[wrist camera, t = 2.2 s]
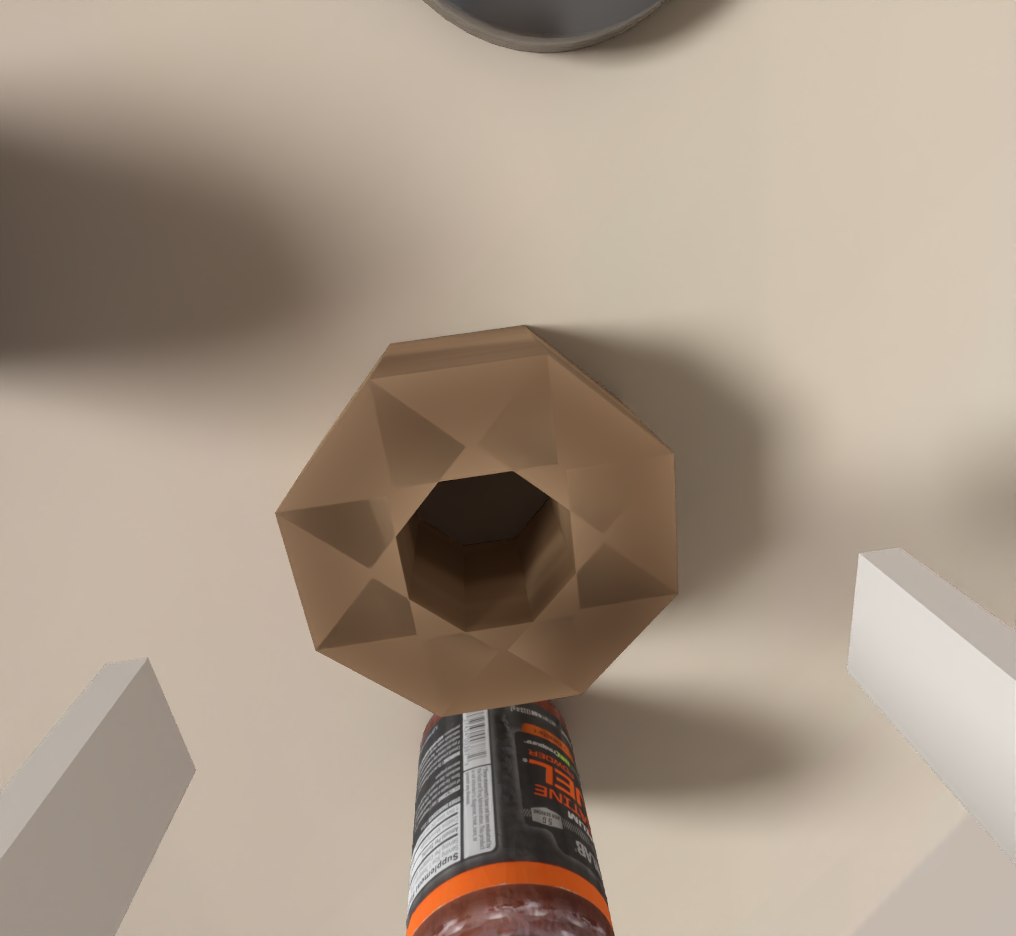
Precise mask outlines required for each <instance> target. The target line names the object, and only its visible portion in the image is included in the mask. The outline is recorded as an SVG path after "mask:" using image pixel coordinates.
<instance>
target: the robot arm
mask: <svg viewBox="0 0 1016 936" xmlns="http://www.w3.org/2000/svg"><path fill="white" fill-rule="evenodd" d="M847 673H848V674H849V675H850V676H851V677H852V678H853V680H854V681H855V682H856V683H857V684H858V685H859V687H860V688H861V689H862V690H863V691H864V692H865V693H866V695H867V696H868V697H869V698H870V699H871V700H872V702H873V703H874V704H875V705H876V706H877V707H878V708H879V710H880V711H881V712H882V713H883V714H884V715H885V716H886V718H887V719H888V720H889V721H890V722H891V723H892V725H893V726H894V727H895V728H896V729H897V730H898V731H899V733H900V734H901V735H902V736H903V737H904V738H905V739H906V741H907V742H908V743H909V744H910V745H911V746H912V748H913V749H914V750H915V751H916V752H917V753H918V754H919V756H920V757H921V758H922V759H923V760H924V761H925V763H926V764H927V765H928V766H929V767H930V768H931V769H932V771H933V772H934V773H935V774H936V775H937V776H938V777H939V779H940V780H941V781H942V782H943V783H944V784H945V786H946V787H947V788H948V789H949V790H950V791H951V792H952V794H953V795H954V796H955V797H956V798H957V799H958V800H959V802H960V803H961V804H962V805H963V806H964V807H965V809H966V810H967V811H968V812H969V813H970V814H971V815H972V817H973V818H974V819H975V820H976V821H977V822H978V823H979V825H980V826H981V827H982V828H983V829H984V830H985V832H986V833H987V834H988V835H989V836H990V837H991V838H992V840H993V841H994V842H995V843H996V844H997V845H998V847H999V848H1000V849H1001V850H1002V851H1003V852H1004V853H1005V855H1006V856H1007V857H1008V858H1009V859H1010V860H1011V862H1012V863H1013V864H1014V865H1015V866H1016V631H1014V630H1013V629H1011V628H1010V627H1009V626H1007V625H1006V624H1005V623H1003V622H1002V621H1000V620H999V619H998V618H996V617H995V616H994V615H992V614H991V613H989V612H988V611H987V610H985V609H984V608H983V607H981V606H980V605H978V604H977V603H976V602H974V601H973V600H972V599H970V598H969V597H967V596H966V595H965V594H963V593H962V592H961V591H959V590H958V589H956V588H955V587H954V586H952V585H951V584H950V583H948V582H947V581H945V580H944V579H943V578H941V577H940V576H939V575H937V574H936V573H934V572H933V571H932V570H930V569H929V568H928V567H926V566H925V565H923V564H922V563H921V562H919V561H918V560H917V559H915V558H914V557H912V556H911V555H910V554H908V553H907V552H906V551H904V550H903V549H901V548H900V547H897V548H891V549H884V550H877V551H870V552H863V553H859V559H858V568H857V578H856V588H855V597H854V607H853V616H852V626H851V635H850V645H849V655H848V664H847ZM195 771H196V769H195V766H194V764H193V762H192V759H191V757H190V755H189V752H188V750H187V748H186V745H185V743H184V741H183V738H182V736H181V734H180V731H179V729H178V727H177V724H176V722H175V719H174V717H173V715H172V712H171V710H170V708H169V705H168V703H167V701H166V698H165V696H164V694H163V691H162V689H161V687H160V684H159V682H158V680H157V677H156V675H155V673H154V670H153V668H152V666H151V663H150V661H149V659H148V658H142V659H136V660H129V661H122V662H115V663H108V664H105V665H104V666H103V668H102V669H101V670H100V671H99V673H98V674H97V675H96V676H95V677H94V679H93V680H92V681H91V682H90V684H89V685H88V686H87V687H86V688H85V690H84V691H83V692H82V693H81V694H80V696H79V697H78V698H77V699H76V701H75V702H74V703H73V704H72V705H71V707H70V708H69V709H68V710H67V712H66V713H65V714H64V715H63V716H62V718H61V719H60V720H59V721H58V723H57V724H56V725H55V726H54V727H53V729H52V730H51V731H50V732H49V734H48V735H47V736H46V737H45V738H44V740H43V741H42V742H41V743H40V745H39V746H38V747H37V748H36V749H35V751H34V752H33V753H32V754H31V756H30V757H29V758H28V759H27V760H26V762H25V763H24V764H23V765H22V766H21V768H20V769H19V770H18V771H17V773H16V774H15V775H14V776H13V777H12V779H11V780H10V781H9V782H8V784H7V785H6V786H5V787H4V788H3V790H2V791H1V792H0V936H115V934H116V932H117V930H118V928H119V926H120V924H121V922H122V920H123V918H124V916H125V914H126V912H127V909H128V907H129V905H130V903H131V901H132V899H133V897H134V895H135V893H136V891H137V889H138V887H139V885H140V883H141V881H142V879H143V877H144V875H145V873H146V871H147V869H148V867H149V865H150V863H151V861H152V859H153V857H154V855H155V853H156V850H157V848H158V846H159V844H160V842H161V840H162V838H163V836H164V834H165V832H166V830H167V828H168V826H169V824H170V822H171V820H172V818H173V816H174V814H175V812H176V810H177V808H178V806H179V804H180V802H181V800H182V798H183V796H184V794H185V791H186V789H187V787H188V785H189V783H190V781H191V779H192V777H193V775H194V773H195Z"/></svg>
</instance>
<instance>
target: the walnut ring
mask: <svg viewBox="0 0 1016 936" xmlns="http://www.w3.org/2000/svg"><path fill="white" fill-rule="evenodd" d="M508 471H514V472H516V473H517V474H518V475H520V476H521V477H523V478H524V479H526V480H527V481H528V482H530V483H531V484H533V485H534V486H536V487H537V488H538V489H540V490H541V491H543V492H544V493H546V494H547V495H548V496H549V499H548V500H547V501H546V502H545V504H544V505H543V506H542V507H541V508H540V510H539V511H538V512H537V513H536V514H535V516H534V517H533V518H532V519H531V520H530V522H529V523H528V524H527V525H526V526H525V527H524V529H523V530H522V531H521V532H520V533H519V535H518V536H517V537H516V538H512V539H505V540H499V541H492V542H486V543H479V544H472V545H466V546H462V545H461V544H459V543H458V542H456V541H455V540H453V539H451V538H450V537H448V536H447V535H445V534H444V533H442V532H440V531H439V530H437V529H436V528H434V527H433V526H431V525H429V524H428V523H426V522H425V521H423V520H422V519H420V518H419V515H418V510H417V509H418V507H419V506H420V505H421V504H422V502H423V501H424V500H425V498H426V497H427V496H428V495H429V493H430V492H431V491H432V489H433V488H434V487H435V486H436V484H437V483H438V482H441V481H447V480H454V479H461V478H468V477H474V476H481V475H488V474H495V473H501V472H508ZM275 514H276V517H277V521H278V524H279V528H280V531H281V535H282V538H283V541H284V545H285V548H286V552H287V555H288V558H289V562H290V565H291V569H292V572H293V575H294V579H295V582H296V586H297V589H298V592H299V596H300V599H301V603H302V606H303V609H304V613H305V616H306V620H307V623H308V626H309V630H310V633H311V637H312V640H313V643H314V647H315V650H316V651H318V652H320V653H321V654H323V655H325V656H327V657H329V658H331V659H333V660H335V661H336V662H338V663H340V664H342V665H344V666H346V667H348V668H350V669H352V670H353V671H355V672H357V673H359V674H361V675H363V676H365V677H367V678H368V679H370V680H372V681H374V682H376V683H378V684H380V685H382V686H383V687H385V688H387V689H389V690H391V691H393V692H395V693H397V694H399V695H400V696H402V697H404V698H406V699H408V700H410V701H412V702H414V703H415V704H417V705H419V706H421V707H423V708H425V709H427V710H429V711H430V712H432V713H434V714H436V715H438V716H440V717H445V716H451V715H457V714H463V713H469V712H476V711H482V710H488V709H494V708H501V707H507V706H513V705H519V704H525V703H532V702H538V701H544V700H550V699H556V698H563V697H569V696H575V695H581V694H583V693H584V692H585V691H586V690H587V689H588V688H589V686H590V685H591V684H592V683H593V682H594V681H595V680H596V679H597V678H598V677H599V676H600V675H601V674H602V673H603V672H604V671H605V670H606V669H607V668H608V667H609V666H610V664H611V663H612V662H613V661H614V660H615V659H616V658H617V657H618V656H619V655H620V654H621V653H622V652H623V651H624V650H625V649H626V648H627V647H628V646H629V645H630V644H631V642H632V641H633V640H634V639H635V638H636V637H637V636H638V635H639V634H640V633H641V632H642V631H643V630H644V629H645V628H646V627H647V626H648V625H649V624H650V623H651V622H652V620H653V619H654V618H655V617H656V616H657V615H658V614H659V613H660V612H661V611H662V610H663V609H664V608H665V607H666V606H667V605H668V604H669V603H670V602H671V601H672V599H673V598H674V597H675V596H676V595H677V594H678V575H677V539H676V502H675V466H674V453H673V452H672V451H671V450H670V449H669V448H668V447H667V446H666V445H665V444H664V443H663V442H662V441H661V440H660V439H659V438H658V437H657V436H656V435H655V434H654V433H653V432H652V431H651V430H650V429H649V428H648V427H647V426H646V425H644V424H643V423H642V422H641V421H640V420H639V419H638V418H637V417H636V416H635V415H634V414H633V413H632V412H631V411H630V410H629V409H628V408H627V407H626V406H625V405H624V404H623V403H622V402H621V401H619V400H618V399H617V398H616V397H614V396H613V395H612V394H611V393H609V392H608V391H607V390H606V389H604V388H603V387H602V386H600V385H599V384H598V383H597V382H595V381H594V380H593V379H592V378H590V377H589V376H588V375H586V374H585V373H584V372H583V371H581V370H580V369H579V368H578V367H576V366H575V365H574V364H573V363H571V362H570V361H569V360H567V359H566V358H565V357H564V356H562V355H561V354H560V353H559V352H557V351H556V350H555V349H554V348H552V347H551V346H550V345H548V344H547V343H546V342H545V341H543V340H542V339H541V338H540V337H538V336H537V335H536V334H535V333H533V332H532V331H531V330H529V329H528V328H527V327H526V326H524V325H521V326H514V327H507V328H500V329H493V330H486V331H479V332H472V333H464V334H457V335H450V336H443V337H436V338H429V339H422V340H414V341H407V342H400V343H393V344H390V345H389V347H388V348H387V349H386V351H385V352H384V354H383V355H382V357H381V358H380V359H379V361H378V362H377V364H376V365H375V366H374V368H373V369H372V371H371V372H370V374H369V375H368V376H367V378H366V379H365V381H364V382H363V384H362V385H361V386H360V388H359V389H358V391H357V392H356V393H355V395H354V396H353V398H352V399H351V401H350V402H349V403H348V405H347V406H346V408H345V409H344V411H343V412H342V413H341V415H340V416H339V418H338V419H337V420H336V422H335V423H334V425H333V426H332V428H331V429H330V430H329V432H328V433H327V435H326V436H325V438H324V439H323V440H322V442H321V443H320V445H319V446H318V448H317V449H316V451H315V452H314V454H313V455H312V457H311V458H310V460H309V461H308V463H307V464H306V466H305V468H304V469H303V471H302V472H301V474H300V475H299V477H298V478H297V480H296V481H295V483H294V485H293V486H292V488H291V489H290V491H289V492H288V494H287V495H286V497H285V498H284V500H283V502H282V503H281V505H280V506H279V508H278V509H277V511H276V512H275Z"/></svg>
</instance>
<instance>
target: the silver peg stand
mask: <svg viewBox="0 0 1016 936" xmlns="http://www.w3.org/2000/svg"><path fill="white" fill-rule="evenodd" d="M423 1H424V2H425V3H426V4H428V5H429V6H430V7H431V8H433V9H434V10H435V11H436V12H438V13H439V14H440V15H441V16H442V17H444V18H445V19H446V20H448V21H449V22H451V23H453V24H454V25H456V26H458V27H459V28H461V29H463V30H464V31H466V32H467V33H469V34H471V35H474V36H476V37H478V38H481V39H483V40H485V41H488V42H490V43H492V44H496V45H500V46H503V47H507V48H511V49H515V50H521V51H530V52H539V53H544V52H565V51H570V50H575V49H580V48H585V47H589V46H592V45H595V44H597V43H600V42H603V41H605V40H608V39H611V38H613V37H615V36H617V35H619V34H620V33H622V32H624V31H626V30H628V29H630V28H631V27H633V26H635V25H636V24H638V23H639V22H640V21H642V20H643V19H644V18H646V17H647V16H649V15H650V14H651V13H653V12H654V11H655V10H656V9H657V8H658V7H660V6H661V5H662V4H663V3H664V2H665V1H666V0H423Z"/></svg>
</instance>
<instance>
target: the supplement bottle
mask: <svg viewBox="0 0 1016 936" xmlns="http://www.w3.org/2000/svg"><path fill="white" fill-rule="evenodd" d="M406 925H407V934H406V936H615V935H614V931H613V926H612V922H611V917H610V912H609V909H608V902H607V897H606V895H605V889H604V886H603V880H602V876H601V872H600V868H599V864H598V859H597V854H596V850H595V846H594V842H593V839H592V834H591V828H590V825H589V821H588V817H587V812H586V808H585V802H584V798H583V794H582V790H581V784H580V780H579V774H578V772H577V767H576V763H575V758H574V754H573V748H572V744H571V740H570V738H569V736H568V732H567V729H566V725H565V723H564V721H563V719H562V717H561V715H560V714H559V712H558V711H557V710H556V709H555V707H554V706H553V705H552V704H551V703H550V702H548V701H547V700H544V701H538V702H532V703H525V704H519V705H513V706H507V707H501V708H494V709H488V710H482V711H476V712H469V713H463V714H457V715H451V716H445V717H440V716H438V715H436V714H434V715H433V716H432V718H431V719H430V721H429V722H428V724H427V726H426V728H425V731H424V733H423V738H422V741H421V746H420V756H419V766H418V780H417V792H416V803H415V819H414V831H413V845H412V861H411V873H410V884H409V896H408V910H407V921H406Z"/></svg>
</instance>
